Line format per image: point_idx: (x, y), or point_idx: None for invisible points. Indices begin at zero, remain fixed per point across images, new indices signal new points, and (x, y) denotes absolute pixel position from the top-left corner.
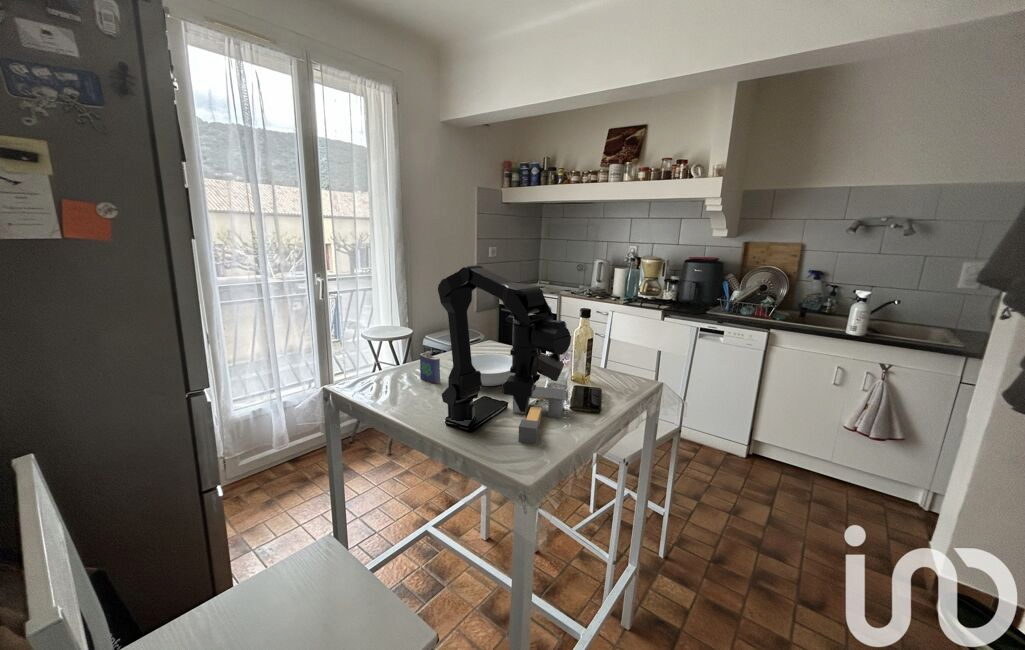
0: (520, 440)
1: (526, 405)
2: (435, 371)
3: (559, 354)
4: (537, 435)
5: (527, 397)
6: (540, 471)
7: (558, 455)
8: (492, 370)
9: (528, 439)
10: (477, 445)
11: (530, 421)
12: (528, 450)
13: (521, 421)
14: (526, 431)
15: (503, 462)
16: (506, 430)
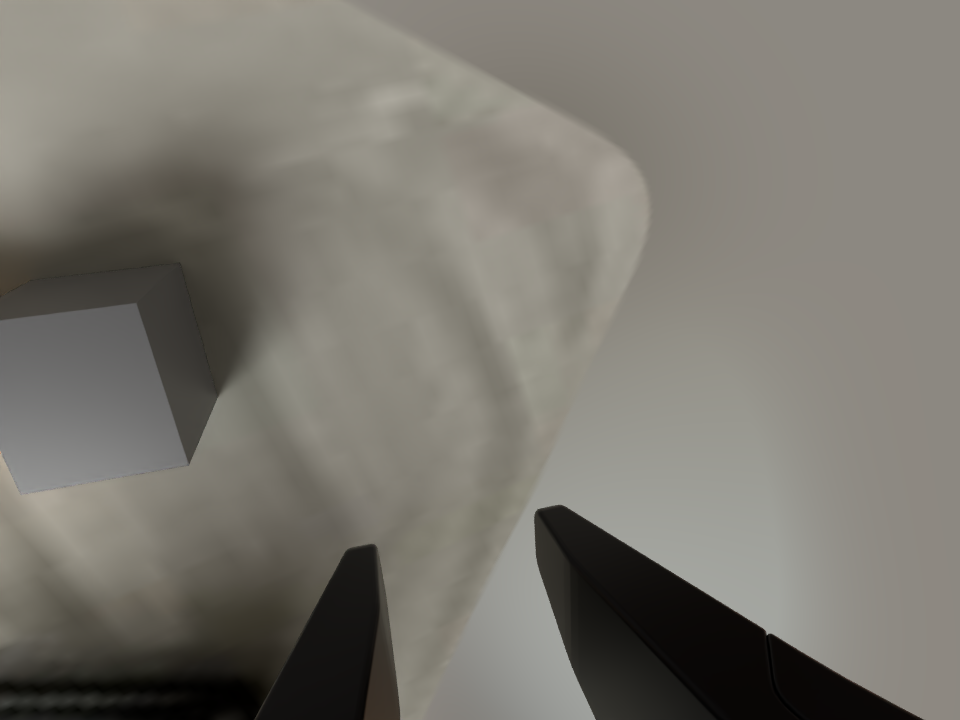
0: (210, 388)
1: (600, 560)
2: None
3: None
4: (92, 281)
5: (892, 705)
6: (537, 131)
7: (272, 26)
8: None
9: (190, 334)
10: (385, 588)
11: (13, 406)
12: (307, 290)
13: (72, 480)
14: (178, 381)
15: (507, 390)
16: (103, 529)
